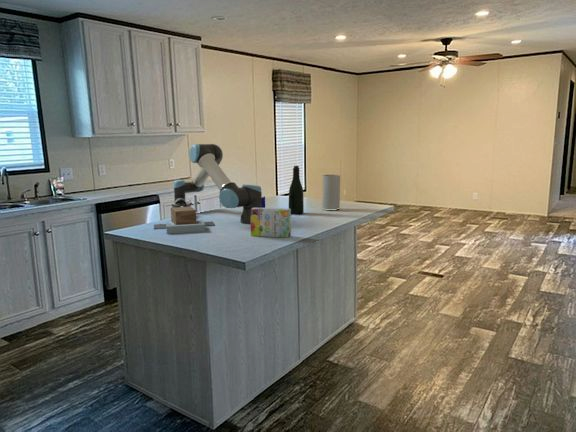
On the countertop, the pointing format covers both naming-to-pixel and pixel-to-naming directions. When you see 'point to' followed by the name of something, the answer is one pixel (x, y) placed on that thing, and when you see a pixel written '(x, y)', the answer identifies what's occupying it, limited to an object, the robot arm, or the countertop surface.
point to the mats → (163, 226)
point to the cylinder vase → (331, 192)
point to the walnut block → (183, 215)
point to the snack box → (271, 222)
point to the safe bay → (185, 228)
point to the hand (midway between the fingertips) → (182, 210)
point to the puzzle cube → (263, 201)
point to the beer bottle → (296, 193)
